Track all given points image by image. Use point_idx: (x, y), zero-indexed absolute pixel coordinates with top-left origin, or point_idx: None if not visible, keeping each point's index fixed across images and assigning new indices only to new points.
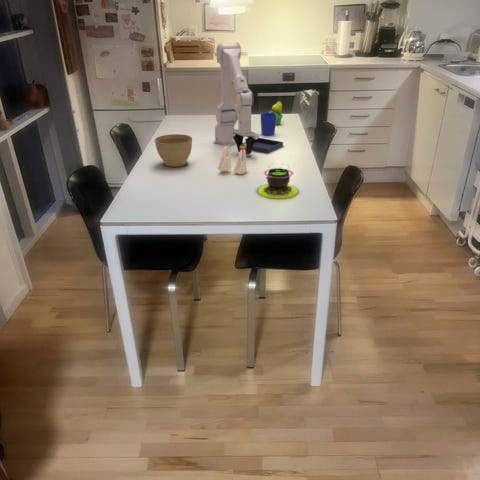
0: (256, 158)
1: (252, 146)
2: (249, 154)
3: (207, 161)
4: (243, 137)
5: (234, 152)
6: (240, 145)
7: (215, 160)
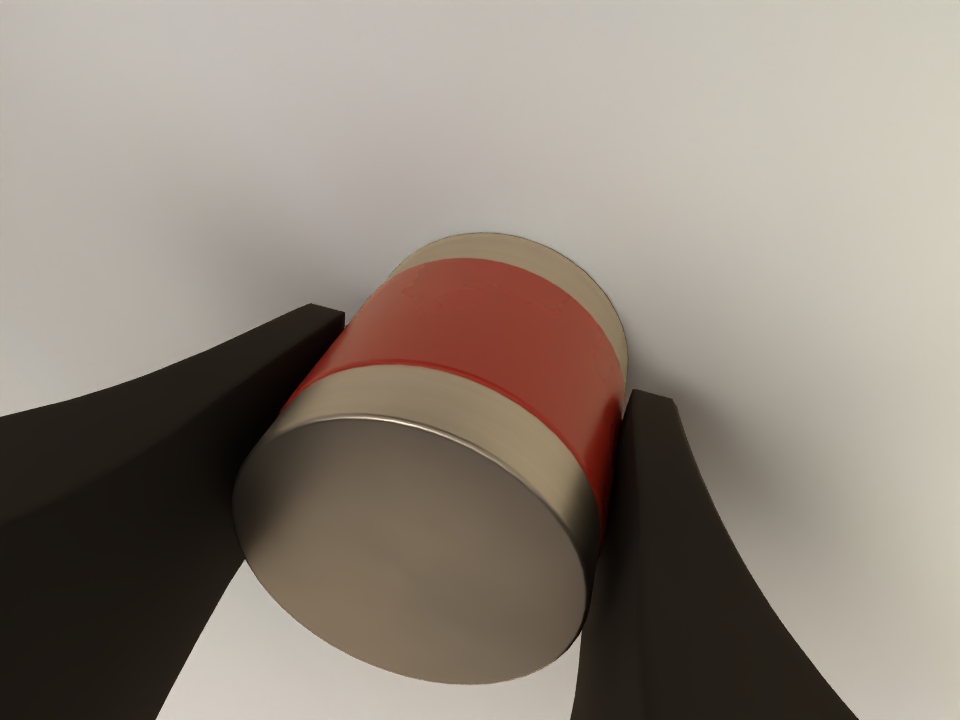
0: (895, 453)
1: (727, 552)
2: (619, 351)
3: (180, 714)
4: (48, 512)
5: (135, 203)
6: (343, 651)
7: (228, 675)
